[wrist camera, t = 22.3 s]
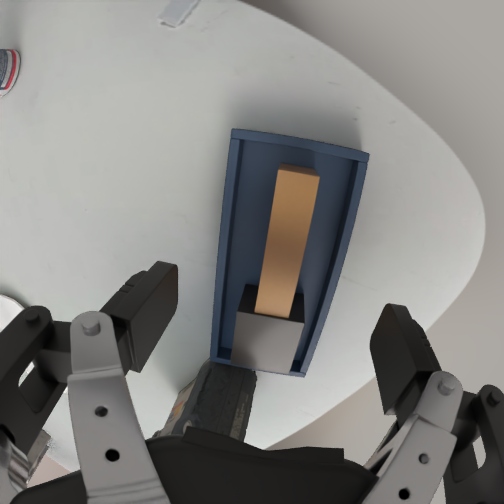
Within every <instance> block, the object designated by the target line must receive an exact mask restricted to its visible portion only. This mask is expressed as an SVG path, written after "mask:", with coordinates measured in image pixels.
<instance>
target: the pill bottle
mask: <svg viewBox="0 0 504 504" xmlns="http://www.w3.org/2000/svg"><path fill="white" fill-rule="evenodd" d="M19 65H20V58H19V54H18V52H17V51H15V50H8V49H0V96H3V95H5V94H6V93H8V92H9V90H10V89H11V88H12V86H13V84H14V82H15V80H16V78H17V75H18V71H19Z"/></svg>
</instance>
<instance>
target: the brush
mask: <svg viewBox="0 0 504 504" xmlns="http://www.w3.org/2000/svg"><path fill="white" fill-rule="evenodd" d="M319 179H320V177H319V175H318V173H317V172H316V170H315V169H313V168H307V167H302V166H297V165H291V164H285V163H280V166H279V169H278V174H277V180H276V186H275V193H274V199H273V205H272V211H271V217H270V223H269V230H268V236H267V242H266V248H265V254H264V260H263V265H262V271H261V277H260V283H259V286H256V285H250V284H245V287H244V290H243V293H242V297H241V300H240V303H239V306H238V309H237V314H236V322H235V330H234V337H233V345H232V353H231V360H230V364H233V365H238V366H243V367H248V368H254V369H259V370H265V371H271V372H277V373H284V374H289V372H290V369H291V366H292V363H293V360H294V357H295V354H296V351H297V347H298V344H299V341H300V338H301V335H302V332H303V328H304V325H305V308H304V294H301V293H295V290H296V286H297V282H298V277H299V273H300V269H301V265H302V260H303V256H304V251H305V247H306V243H307V238H308V233H309V229H310V224H311V219H312V214H313V210H314V205H315V200H316V195H317V190H318V184H319Z"/></svg>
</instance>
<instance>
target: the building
mask: <svg viewBox="0 0 504 504" xmlns="http://www.w3.org/2000/svg"><path fill="white" fill-rule="evenodd" d="M50 437H51V436H50V435H48V434H47V433H46V432H44V431H43V430H41V431H40V433H39V435H38V436H37V438H36V440H35V442H34V444H33V446H32V447H31V449H30V451H29V453H28V455H27V459H28V462H29V472H30V476H31V477H32V475H33V474H34V472H35V470H36V469H37V467H38V465H39V463H40V461H41V460H42V458H43V456H44V455H45V453H46V451H47V450H48V448H49V447H48V446H47V443H48V441H49V439H50ZM30 479H31V478H30ZM28 483H29V482H27V484H28Z"/></svg>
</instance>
